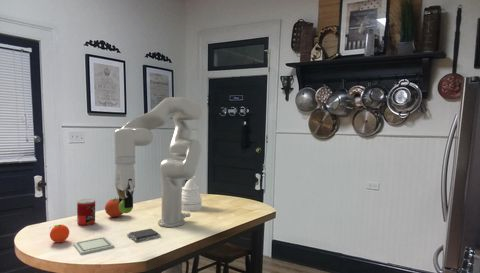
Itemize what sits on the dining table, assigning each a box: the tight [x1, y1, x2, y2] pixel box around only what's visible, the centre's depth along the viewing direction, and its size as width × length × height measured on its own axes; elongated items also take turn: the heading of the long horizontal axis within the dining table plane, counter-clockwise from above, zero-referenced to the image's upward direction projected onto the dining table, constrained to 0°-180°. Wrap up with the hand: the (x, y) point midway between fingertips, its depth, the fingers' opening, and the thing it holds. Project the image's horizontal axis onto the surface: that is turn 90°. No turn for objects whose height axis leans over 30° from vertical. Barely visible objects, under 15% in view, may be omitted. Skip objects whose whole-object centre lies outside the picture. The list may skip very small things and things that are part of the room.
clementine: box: [49, 224, 70, 243], centre depth 131 cm, size 8×7×7 cm
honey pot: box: [182, 175, 203, 212], centre depth 187 cm, size 13×13×18 cm
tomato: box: [104, 197, 124, 218], centre depth 168 cm, size 10×10×10 cm
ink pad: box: [126, 228, 161, 243], centre depth 139 cm, size 11×9×2 cm
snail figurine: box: [115, 183, 134, 214], centre depth 129 cm, size 5×6×12 cm
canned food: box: [76, 198, 96, 227], centre depth 155 cm, size 8×8×11 cm
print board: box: [73, 236, 115, 256], centre depth 127 cm, size 12×12×1 cm
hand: (125, 205), depth 129 cm, fingers closed on snail figurine, 5 cm apart
